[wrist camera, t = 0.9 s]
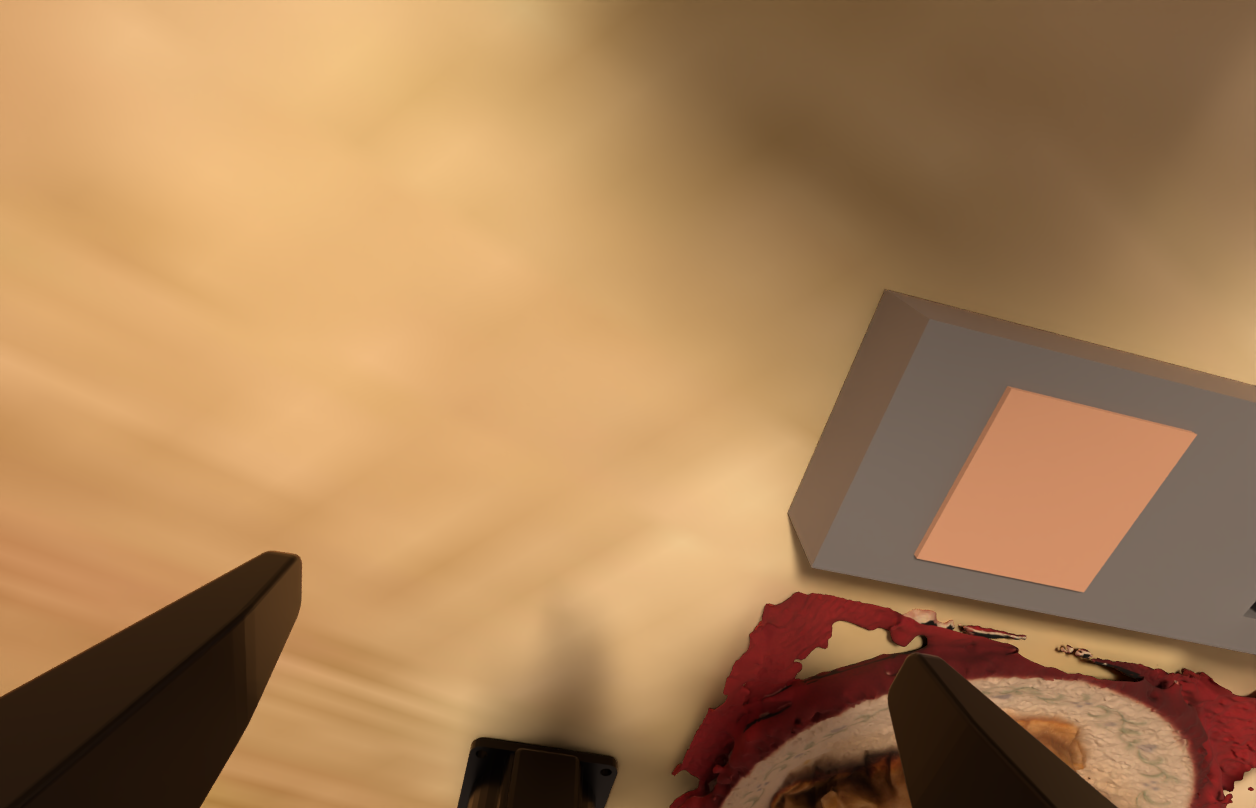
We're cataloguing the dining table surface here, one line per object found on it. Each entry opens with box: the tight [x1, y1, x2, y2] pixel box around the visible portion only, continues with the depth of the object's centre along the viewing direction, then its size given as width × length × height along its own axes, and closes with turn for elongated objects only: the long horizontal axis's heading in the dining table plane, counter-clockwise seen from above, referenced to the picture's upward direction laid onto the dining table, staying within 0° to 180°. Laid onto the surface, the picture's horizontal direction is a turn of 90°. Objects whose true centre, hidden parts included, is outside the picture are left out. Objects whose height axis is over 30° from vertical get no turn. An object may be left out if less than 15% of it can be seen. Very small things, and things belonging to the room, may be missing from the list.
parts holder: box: [788, 289, 1256, 655], centre depth 21 cm, size 8×24×3 cm, turn 76°
